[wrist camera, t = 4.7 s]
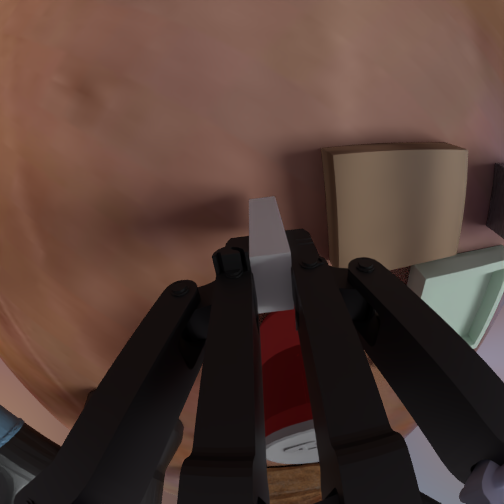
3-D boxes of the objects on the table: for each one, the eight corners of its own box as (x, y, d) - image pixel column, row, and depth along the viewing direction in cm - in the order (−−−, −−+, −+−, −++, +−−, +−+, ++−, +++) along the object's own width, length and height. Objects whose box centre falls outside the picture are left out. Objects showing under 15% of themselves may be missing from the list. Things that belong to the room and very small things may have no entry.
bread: (190, 462, 44) (186, 514, 32) (334, 456, 44) (342, 508, 32) (201, 474, 50) (199, 518, 38) (324, 469, 50) (330, 512, 38)
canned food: (237, 326, 22) (233, 450, 13) (319, 277, 20) (364, 407, 10) (286, 367, 25) (299, 469, 16) (358, 329, 23) (397, 434, 13)
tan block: (327, 256, 20) (339, 280, 17) (319, 147, 16) (333, 155, 13) (436, 237, 19) (456, 255, 16) (442, 141, 15) (467, 150, 12)
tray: (384, 361, 26) (391, 378, 24) (411, 261, 19) (426, 279, 17) (467, 334, 25) (476, 347, 23) (501, 244, 19) (516, 256, 17)
